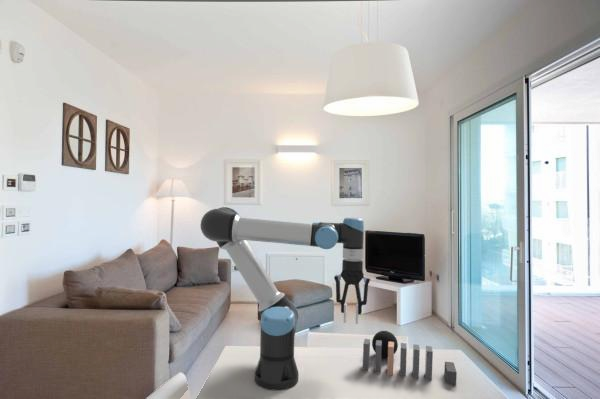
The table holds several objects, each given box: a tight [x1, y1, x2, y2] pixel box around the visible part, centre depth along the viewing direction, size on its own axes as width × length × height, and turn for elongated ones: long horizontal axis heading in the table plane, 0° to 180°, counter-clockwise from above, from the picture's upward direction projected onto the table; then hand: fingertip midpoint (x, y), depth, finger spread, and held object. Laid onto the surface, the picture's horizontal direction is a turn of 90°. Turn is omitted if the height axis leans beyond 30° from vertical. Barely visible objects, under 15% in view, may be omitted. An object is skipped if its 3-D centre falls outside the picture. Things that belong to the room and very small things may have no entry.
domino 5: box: [411, 343, 420, 379], centre depth 142 cm, size 2×5×10 cm, turn 166°
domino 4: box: [399, 342, 408, 377], centre depth 143 cm, size 2×5×10 cm, turn 166°
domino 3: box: [386, 342, 395, 375], centre depth 144 cm, size 2×5×10 cm, turn 166°
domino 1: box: [362, 338, 371, 372], centre depth 146 cm, size 2×5×10 cm, turn 166°
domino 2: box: [374, 340, 383, 374], centre depth 145 cm, size 2×5×10 cm, turn 166°
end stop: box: [443, 361, 457, 386], centre depth 139 cm, size 3×8×4 cm, turn 166°
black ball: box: [371, 330, 399, 359], centre depth 157 cm, size 10×10×10 cm
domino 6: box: [424, 345, 434, 381], centre depth 141 cm, size 2×5×10 cm, turn 165°
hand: (351, 321), depth 147 cm, fingers open, 4 cm apart
